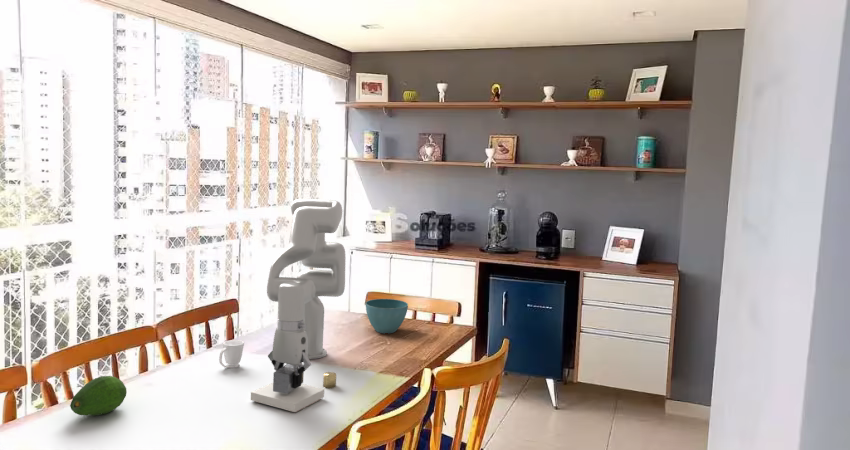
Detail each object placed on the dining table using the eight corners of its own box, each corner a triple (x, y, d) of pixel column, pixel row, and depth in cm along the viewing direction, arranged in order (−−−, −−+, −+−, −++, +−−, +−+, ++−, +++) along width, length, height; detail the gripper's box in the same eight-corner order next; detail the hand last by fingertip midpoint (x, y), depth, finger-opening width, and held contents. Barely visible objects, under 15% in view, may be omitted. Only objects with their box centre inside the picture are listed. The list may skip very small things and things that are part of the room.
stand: (250, 402, 180) (250, 392, 180) (281, 388, 193) (282, 378, 193) (294, 414, 173) (295, 403, 173) (323, 398, 186) (324, 389, 186)
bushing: (320, 386, 196) (321, 374, 196) (327, 383, 200) (328, 371, 199) (331, 389, 194) (331, 376, 194) (338, 385, 198) (338, 373, 198)
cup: (248, 364, 213) (248, 341, 213) (228, 372, 204) (228, 348, 203) (231, 361, 216) (232, 338, 215) (211, 369, 207) (212, 345, 206)
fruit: (85, 428, 157) (86, 390, 156) (59, 420, 161) (59, 383, 160) (134, 408, 171) (135, 373, 170) (109, 401, 175) (109, 367, 174)
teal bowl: (405, 338, 258) (407, 309, 257) (362, 335, 258) (363, 306, 257) (407, 327, 276) (408, 300, 275) (366, 324, 276) (368, 297, 275)
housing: (288, 380, 188) (289, 362, 188) (303, 382, 187) (303, 364, 187) (273, 391, 179) (273, 372, 178) (288, 393, 178) (288, 374, 177)
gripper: (322, 327, 181) (319, 387, 182) (275, 317, 188) (273, 375, 190) (306, 332, 174) (304, 394, 176) (259, 322, 182) (257, 382, 183)
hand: (288, 384), depth 183 cm, fingers closed on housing, 5 cm apart
